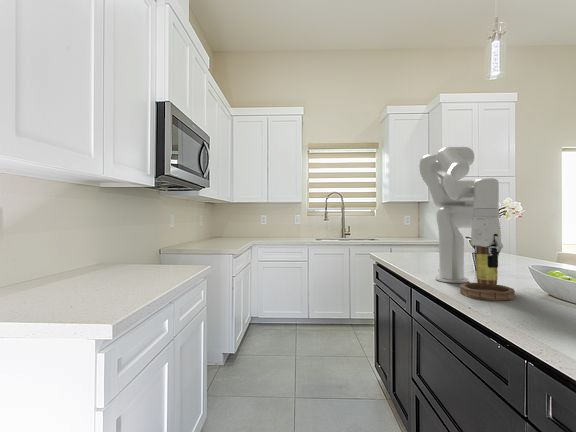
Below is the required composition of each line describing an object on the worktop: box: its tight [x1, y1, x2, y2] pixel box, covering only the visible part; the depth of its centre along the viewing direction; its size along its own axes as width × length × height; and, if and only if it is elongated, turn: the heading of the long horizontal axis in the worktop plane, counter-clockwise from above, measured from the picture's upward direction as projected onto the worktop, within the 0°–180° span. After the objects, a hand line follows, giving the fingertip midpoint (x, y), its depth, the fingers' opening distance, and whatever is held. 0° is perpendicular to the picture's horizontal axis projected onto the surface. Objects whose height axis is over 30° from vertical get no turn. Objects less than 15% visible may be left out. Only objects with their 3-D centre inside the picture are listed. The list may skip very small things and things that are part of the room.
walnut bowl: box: [459, 282, 516, 302], centre depth 114 cm, size 16×16×3 cm
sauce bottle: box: [475, 245, 498, 286], centre depth 113 cm, size 7×6×20 cm
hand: (486, 265), depth 113 cm, fingers closed on sauce bottle, 6 cm apart
